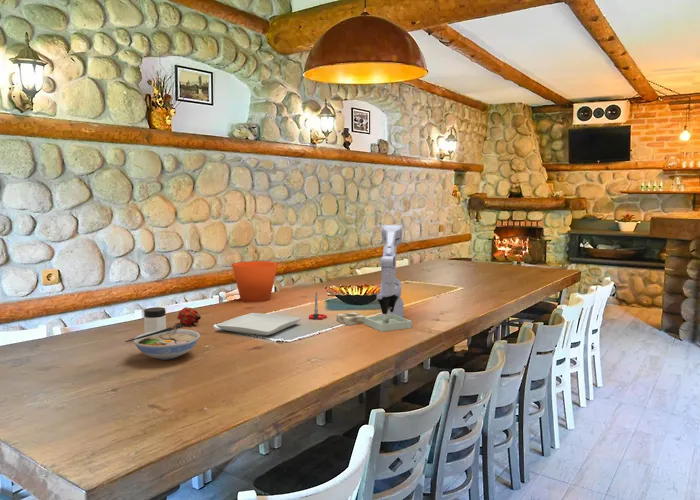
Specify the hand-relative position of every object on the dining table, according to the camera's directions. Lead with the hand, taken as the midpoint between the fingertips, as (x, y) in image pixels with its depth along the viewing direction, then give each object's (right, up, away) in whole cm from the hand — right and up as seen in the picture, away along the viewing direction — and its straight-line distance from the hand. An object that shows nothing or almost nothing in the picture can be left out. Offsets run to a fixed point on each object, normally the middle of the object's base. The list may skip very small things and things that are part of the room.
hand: (387, 312), depth 243 cm
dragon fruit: (-89, -6, +1) cm, 89 cm away
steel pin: (-1, -4, +1) cm, 4 cm away
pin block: (-16, -5, +8) cm, 19 cm away
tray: (0, -6, +1) cm, 6 cm away
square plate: (-56, -7, -4) cm, 57 cm away
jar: (-96, -8, -22) cm, 98 cm away
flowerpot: (-69, 0, +59) cm, 91 cm away
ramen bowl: (-82, -11, -46) cm, 95 cm away
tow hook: (-32, -4, +16) cm, 36 cm away
